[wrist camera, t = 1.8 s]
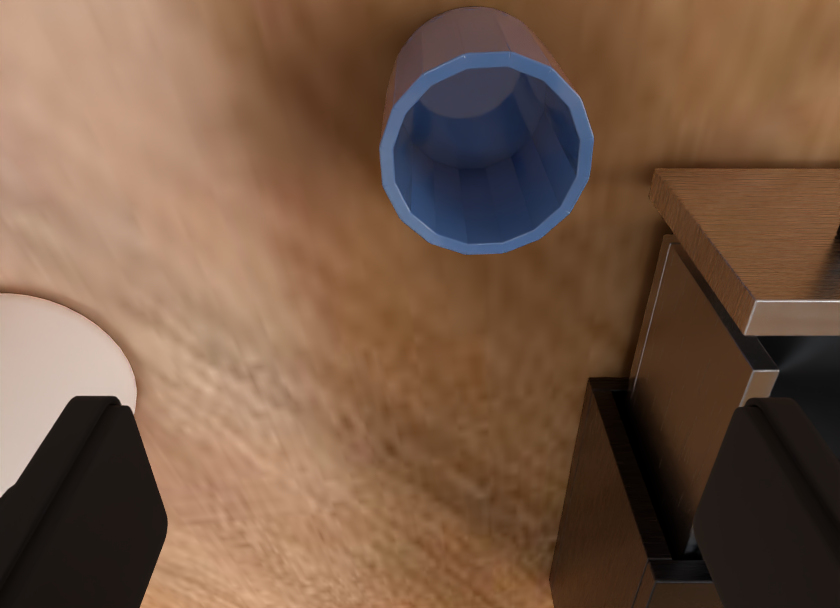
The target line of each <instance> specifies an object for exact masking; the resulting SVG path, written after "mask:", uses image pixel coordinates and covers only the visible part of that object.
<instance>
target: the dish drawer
mask: <svg viewBox="0 0 840 608" xmlns="http://www.w3.org/2000/svg"><path fill="white" fill-rule="evenodd" d="M649 198H650V200H651V201H652V203H653V204H654V205H655V207H656V208H657V210H658V211H659V213H660V214H661V216H662V217H663V219H664V220H665V222H666V223H667V224H668V226H669V227H670V229H671V230H672V232H673V233H674V234H664V236H663V240H662V245H661V249H660V253H659V257H658V261H657V265H656V269H655V273H654V277H653V282H652V286H651V290H650V294H649V298H648V302H647V306H646V310H645V314H644V319H643V323H642V327H641V331H640V335H639V339H638V343H637V347H636V352H635V356H634V360H633V364H632V368H631V372H630V376H629V380H628V384H627V389H626V393H625V397H624V401H623V405H622V409H621V413H620V417H621V419H622V422H623V425H624V428H625V430H626V433H627V436H628V439H629V441H630V444H631V447H632V450H633V452H634V455H635V458H636V461H637V463H638V466H639V469H640V472H641V474H642V477H643V480H644V483H645V485H646V488H647V491H648V494H649V496H650V499H651V502H652V505H653V507H654V510H655V513H656V516H657V518H658V521H659V524H660V527H661V529H662V532H663V535H664V538H665V540H666V543H667V546H668V549H669V551H670V554H671V557H672V560H704V559H703V556H702V554H701V551H700V549H699V547H698V544H697V542H696V539H695V536H694V530H693V519H694V515H695V512H696V510H697V507H698V504H699V502H700V499H701V497H702V494H703V491H704V489H705V486H706V483H707V481H708V478H709V476H710V473H711V470H712V468H713V465H714V462H715V460H716V457H717V455H718V452H719V449H720V447H721V444H722V441H723V439H724V436H725V434H726V431H727V428H728V426H729V423H730V420H731V418H732V415H733V413H734V411H735V409H736V408H738V407H744V405H745V403H746V401H747V400H748V399H750V398H755V397H761V398H791V399H793V400H795V401H796V402H797V403H798V404H799V406H800V407H801V408H802V410H803V411H804V413H805V414H806V415H807V417H808V418H809V420H810V421H811V422H812V424H813V425H814V427H815V428H816V430H817V431H818V432H819V434H820V435H821V437H822V438H823V439H824V441H825V442H826V444H827V445H828V446H829V448H830V449H831V451H832V452H833V453H834V455H835V456H836V458H837V459H838V461H839V462H840V169H730V168H656V169H655V170H654V174H653V179H652V183H651V188H650V192H649Z"/></svg>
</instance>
